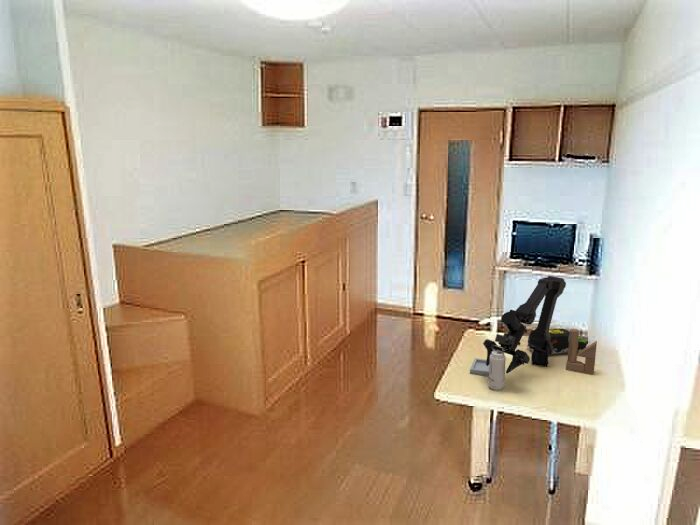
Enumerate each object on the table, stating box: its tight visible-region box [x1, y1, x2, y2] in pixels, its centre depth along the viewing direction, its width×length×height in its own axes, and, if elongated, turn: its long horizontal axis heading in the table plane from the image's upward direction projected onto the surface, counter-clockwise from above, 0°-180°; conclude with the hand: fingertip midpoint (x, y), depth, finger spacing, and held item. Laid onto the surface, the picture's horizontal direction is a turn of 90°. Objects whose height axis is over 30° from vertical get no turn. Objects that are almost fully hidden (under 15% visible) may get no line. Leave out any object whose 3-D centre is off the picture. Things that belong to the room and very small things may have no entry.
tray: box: [469, 357, 489, 377], centre depth 222 cm, size 12×12×2 cm
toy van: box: [526, 328, 588, 358], centre depth 238 cm, size 11×25×10 cm, turn 99°
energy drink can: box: [488, 350, 507, 392], centre depth 205 cm, size 6×6×15 cm
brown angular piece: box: [565, 328, 598, 375], centre depth 217 cm, size 4×11×18 cm, turn 60°
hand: (496, 369), depth 204 cm, fingers open, 9 cm apart
